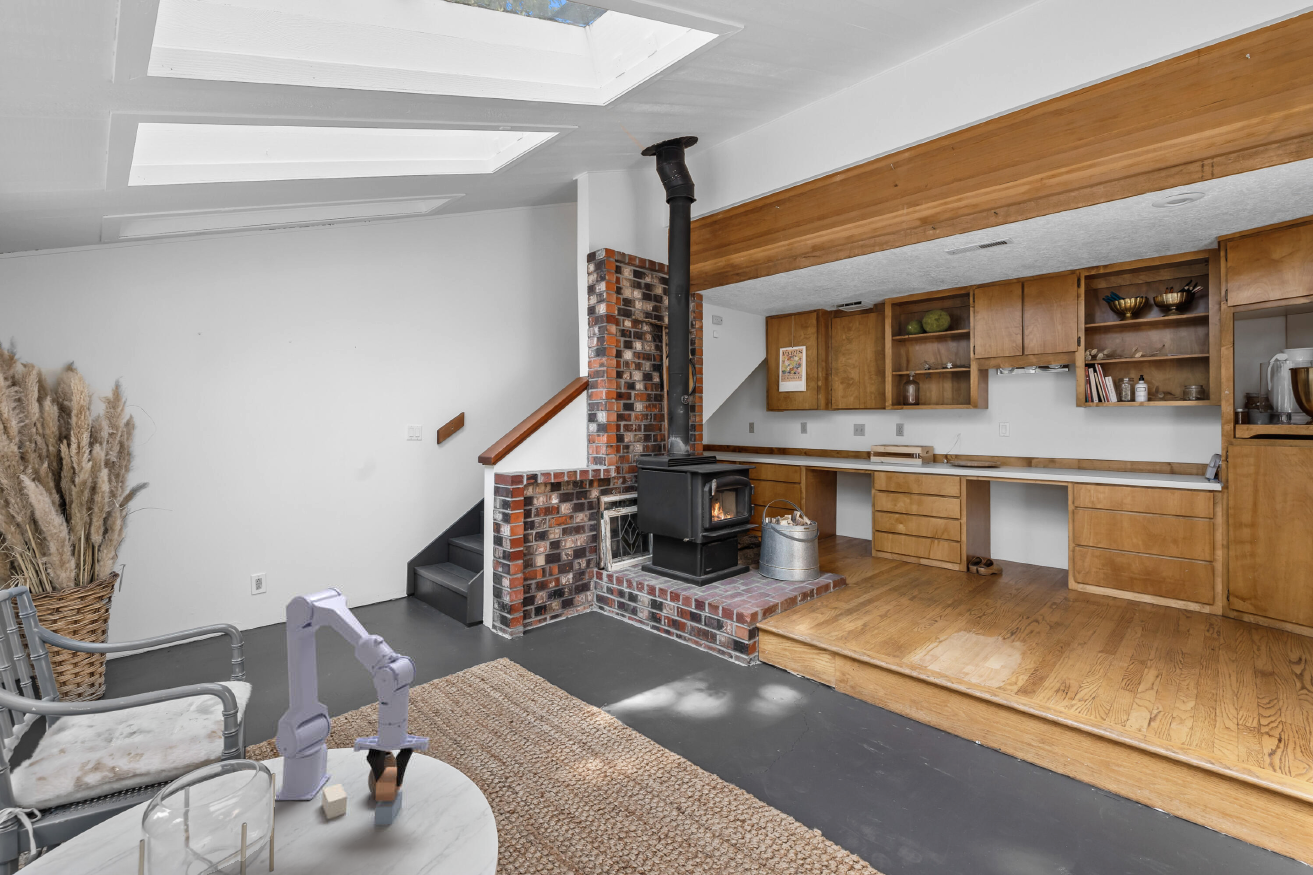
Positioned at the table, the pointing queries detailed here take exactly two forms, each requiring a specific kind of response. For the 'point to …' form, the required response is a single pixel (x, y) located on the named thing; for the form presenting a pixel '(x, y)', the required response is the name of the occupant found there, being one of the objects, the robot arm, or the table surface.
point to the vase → (389, 762)
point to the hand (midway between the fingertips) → (389, 783)
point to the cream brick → (334, 801)
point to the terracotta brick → (387, 785)
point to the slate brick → (388, 810)
